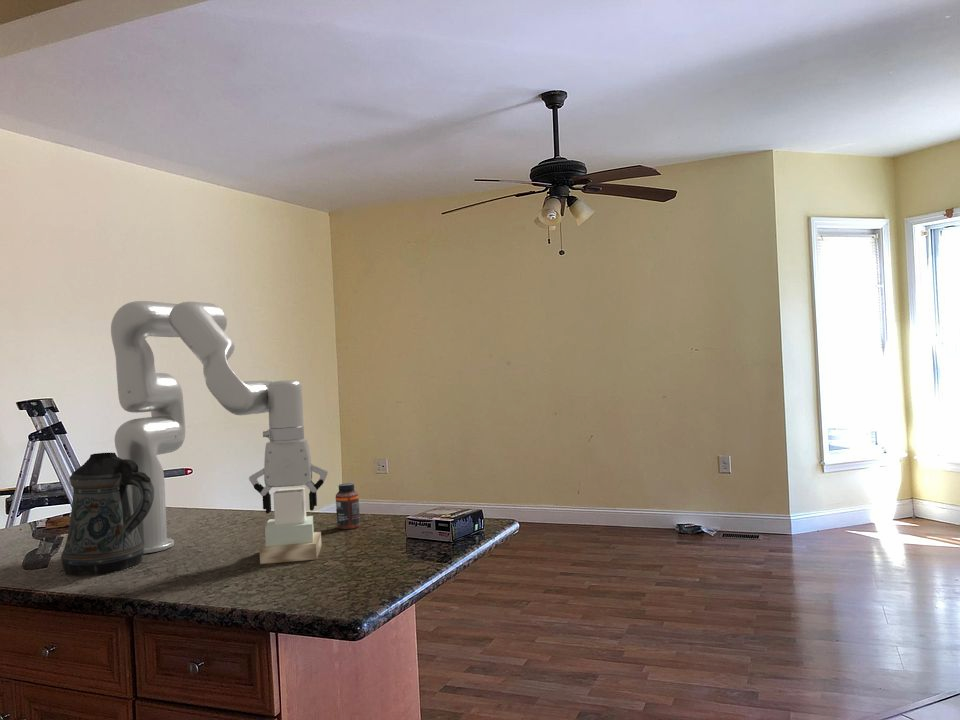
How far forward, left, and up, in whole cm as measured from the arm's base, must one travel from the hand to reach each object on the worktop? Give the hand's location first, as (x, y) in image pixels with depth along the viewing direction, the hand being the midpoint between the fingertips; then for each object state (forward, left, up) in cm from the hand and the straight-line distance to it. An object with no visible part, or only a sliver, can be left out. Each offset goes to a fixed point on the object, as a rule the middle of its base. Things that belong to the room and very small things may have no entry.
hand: (290, 510), depth 167 cm
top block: (0, 0, -6) cm, 6 cm away
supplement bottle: (+11, +25, -10) cm, 29 cm away
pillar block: (0, 0, -2) cm, 2 cm away
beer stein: (-40, +3, -10) cm, 41 cm away
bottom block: (0, 0, -10) cm, 10 cm away
